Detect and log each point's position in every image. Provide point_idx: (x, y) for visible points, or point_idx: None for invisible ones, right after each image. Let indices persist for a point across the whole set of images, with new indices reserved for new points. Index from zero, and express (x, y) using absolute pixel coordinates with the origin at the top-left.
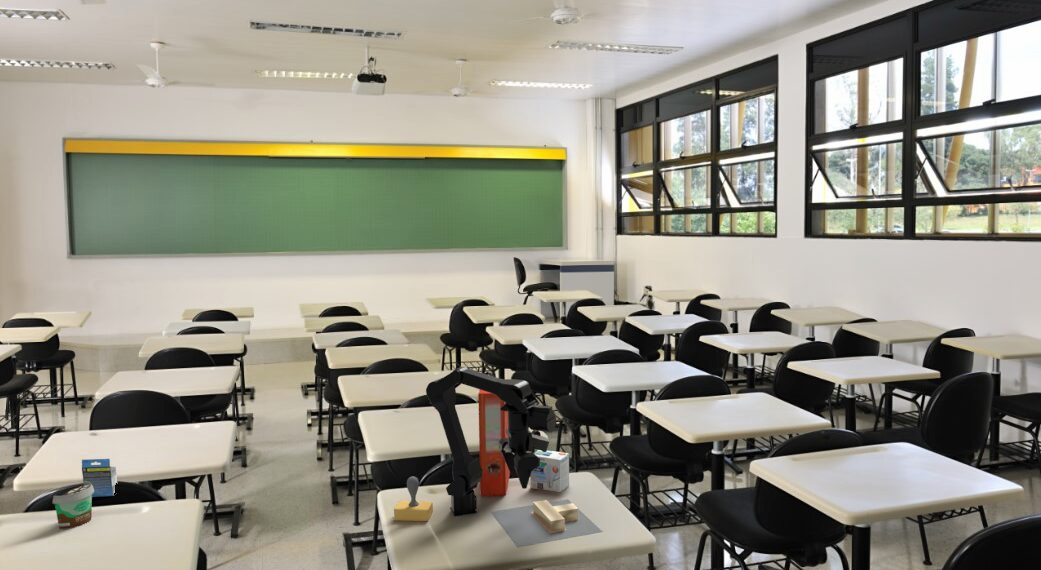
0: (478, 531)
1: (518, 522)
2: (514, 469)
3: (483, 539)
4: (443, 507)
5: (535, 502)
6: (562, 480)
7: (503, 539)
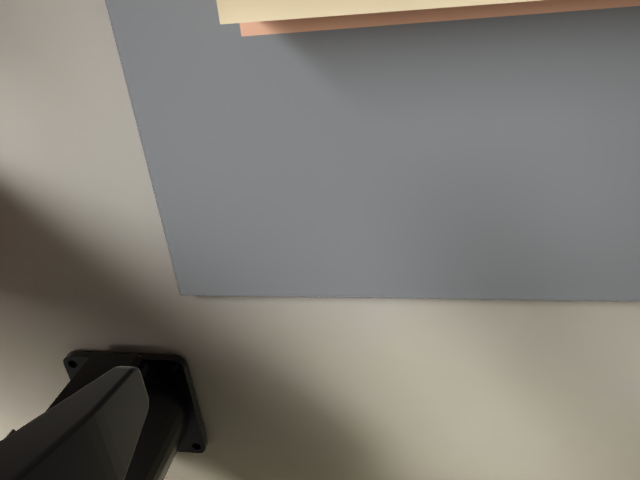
0: (410, 403)
1: (403, 185)
2: (75, 471)
3: (523, 410)
4: None
5: (236, 3)
6: None
7: (585, 327)
